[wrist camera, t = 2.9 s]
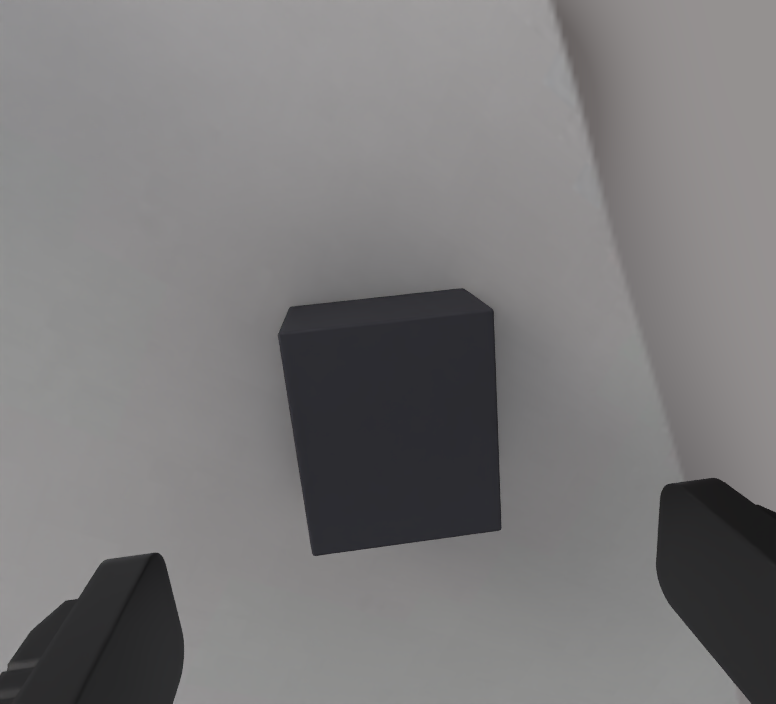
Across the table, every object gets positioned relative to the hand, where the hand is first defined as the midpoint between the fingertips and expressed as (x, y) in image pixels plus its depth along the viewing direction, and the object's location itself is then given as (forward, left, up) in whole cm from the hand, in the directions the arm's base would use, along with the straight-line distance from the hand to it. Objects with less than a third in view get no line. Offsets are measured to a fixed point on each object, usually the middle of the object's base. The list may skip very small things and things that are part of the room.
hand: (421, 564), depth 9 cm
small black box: (0, 0, -8) cm, 8 cm away
